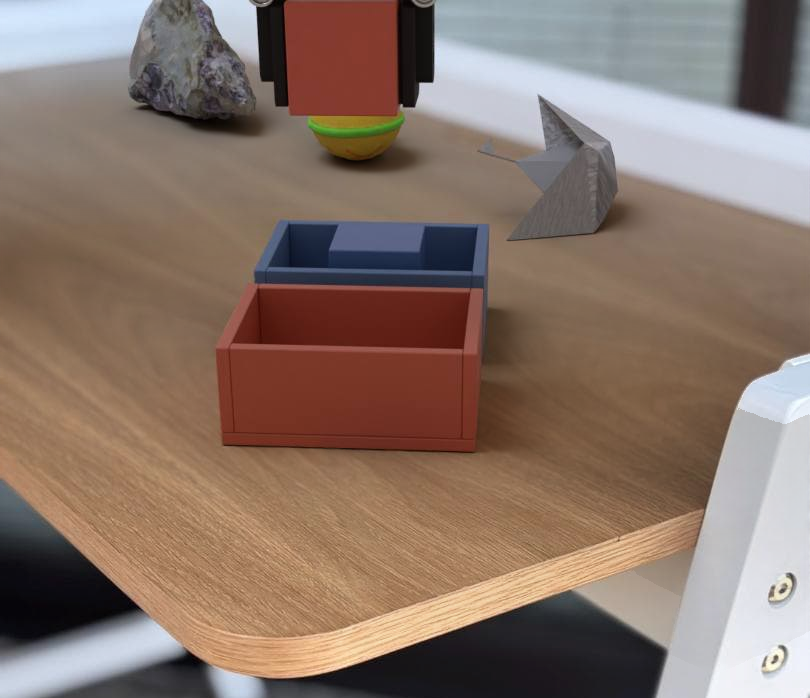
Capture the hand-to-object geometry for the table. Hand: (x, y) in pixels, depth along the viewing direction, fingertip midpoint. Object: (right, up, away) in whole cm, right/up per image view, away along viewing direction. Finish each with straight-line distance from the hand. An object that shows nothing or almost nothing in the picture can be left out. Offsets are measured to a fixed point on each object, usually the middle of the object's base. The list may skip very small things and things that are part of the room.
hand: (348, 95), depth 64 cm
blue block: (+1, -7, +14) cm, 16 cm away
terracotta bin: (0, -13, +6) cm, 14 cm away
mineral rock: (-15, +14, +55) cm, 59 cm away
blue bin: (+1, -8, +15) cm, 17 cm away
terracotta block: (0, 0, 0) cm, 0 cm away
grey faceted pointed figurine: (+12, +2, +32) cm, 34 cm away
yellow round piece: (-1, +9, +45) cm, 46 cm away
